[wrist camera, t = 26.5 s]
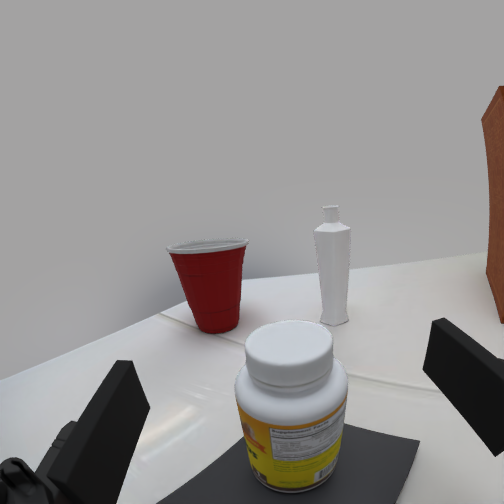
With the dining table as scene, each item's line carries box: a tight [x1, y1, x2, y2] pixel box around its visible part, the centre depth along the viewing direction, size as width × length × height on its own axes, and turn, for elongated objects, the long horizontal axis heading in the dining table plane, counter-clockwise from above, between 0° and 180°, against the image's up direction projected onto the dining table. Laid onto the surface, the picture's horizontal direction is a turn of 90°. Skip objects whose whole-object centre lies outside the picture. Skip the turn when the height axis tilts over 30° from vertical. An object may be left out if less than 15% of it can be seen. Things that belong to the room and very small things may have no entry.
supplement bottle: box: [235, 320, 348, 493], centre depth 13 cm, size 6×6×10 cm
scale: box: [156, 424, 420, 504], centre depth 11 cm, size 16×12×3 cm
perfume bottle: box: [314, 206, 351, 326], centre depth 35 cm, size 5×4×15 cm
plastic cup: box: [166, 238, 249, 334], centre depth 38 cm, size 11×11×12 cm
